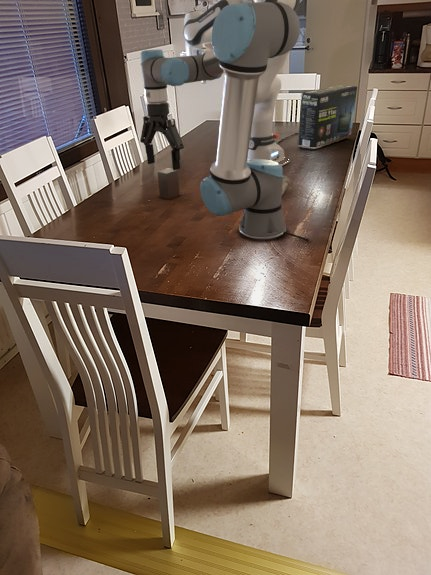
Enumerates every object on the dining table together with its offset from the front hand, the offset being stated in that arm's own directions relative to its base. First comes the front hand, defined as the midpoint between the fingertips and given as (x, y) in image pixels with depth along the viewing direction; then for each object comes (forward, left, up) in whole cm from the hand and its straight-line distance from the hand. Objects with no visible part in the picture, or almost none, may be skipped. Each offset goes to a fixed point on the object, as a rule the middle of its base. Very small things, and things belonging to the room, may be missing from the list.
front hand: (163, 166), depth 162 cm
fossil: (-25, -33, -16) cm, 44 cm away
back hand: (+32, -75, +17) cm, 84 cm away
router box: (-22, -115, -16) cm, 118 cm away
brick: (+7, -12, -16) cm, 21 cm away
